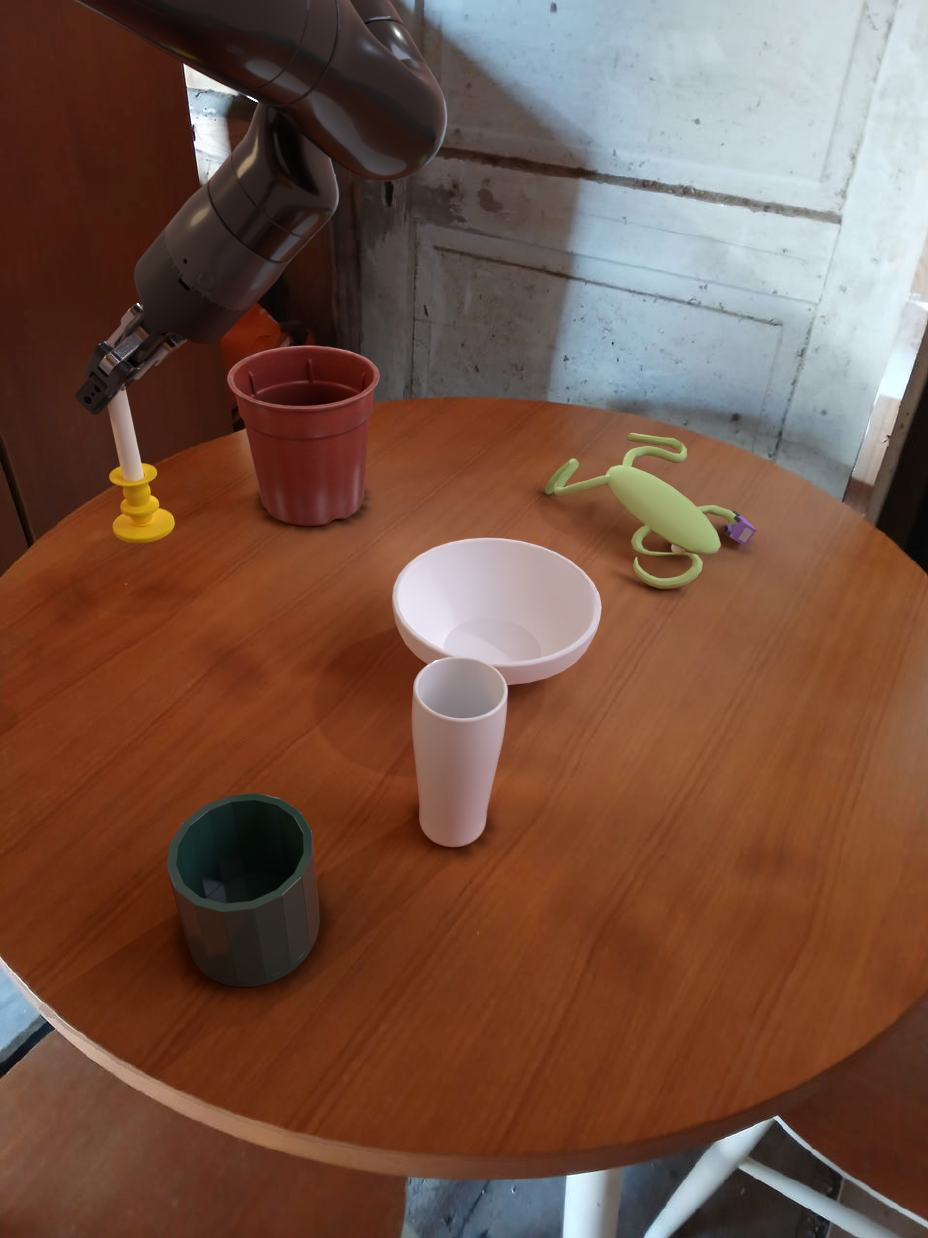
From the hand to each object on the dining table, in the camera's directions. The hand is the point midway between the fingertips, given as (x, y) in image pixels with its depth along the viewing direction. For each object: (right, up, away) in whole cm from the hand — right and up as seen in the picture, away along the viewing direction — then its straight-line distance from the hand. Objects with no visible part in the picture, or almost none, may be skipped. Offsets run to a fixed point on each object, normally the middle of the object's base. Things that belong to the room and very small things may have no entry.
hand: (94, 398), depth 73 cm
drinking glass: (+29, -34, 0) cm, 45 cm away
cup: (+15, -40, -9) cm, 43 cm away
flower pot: (+12, -4, +36) cm, 38 cm away
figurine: (+52, -6, +37) cm, 64 cm away
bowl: (+33, -21, +16) cm, 42 cm away
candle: (+2, -10, +7) cm, 12 cm away
